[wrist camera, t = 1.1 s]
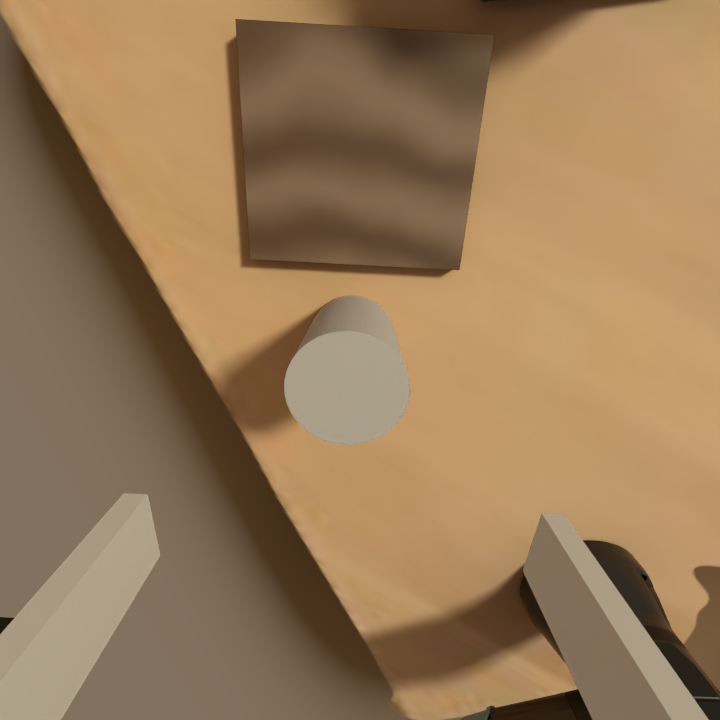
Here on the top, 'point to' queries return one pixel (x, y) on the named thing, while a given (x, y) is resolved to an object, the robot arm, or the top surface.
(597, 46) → the top surface
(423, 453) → the top surface
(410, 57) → the walnut board
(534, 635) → the top surface
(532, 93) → the top surface
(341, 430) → the beige cylinder
